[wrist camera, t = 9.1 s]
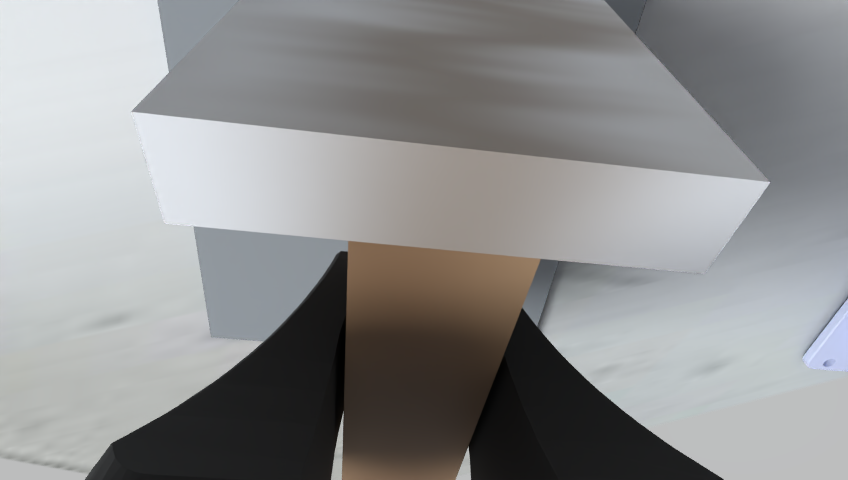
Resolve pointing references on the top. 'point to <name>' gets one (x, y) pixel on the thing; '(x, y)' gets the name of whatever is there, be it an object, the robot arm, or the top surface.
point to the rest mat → (275, 253)
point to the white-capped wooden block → (441, 179)
